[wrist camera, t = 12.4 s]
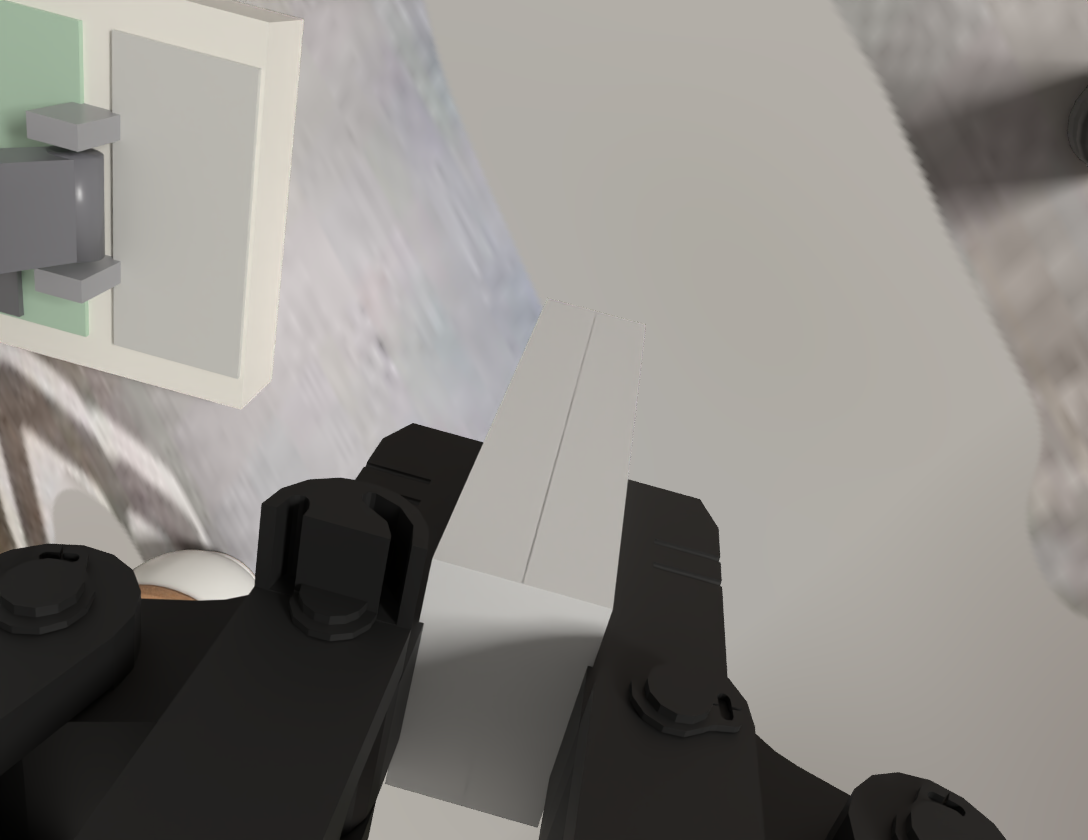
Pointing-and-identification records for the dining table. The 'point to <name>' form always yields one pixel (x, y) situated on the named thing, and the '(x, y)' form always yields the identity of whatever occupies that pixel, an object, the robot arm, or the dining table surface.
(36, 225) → the toggle lever
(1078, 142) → the beverage cup
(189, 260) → the switch box
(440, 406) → the dining table surface
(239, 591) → the lidded jar
